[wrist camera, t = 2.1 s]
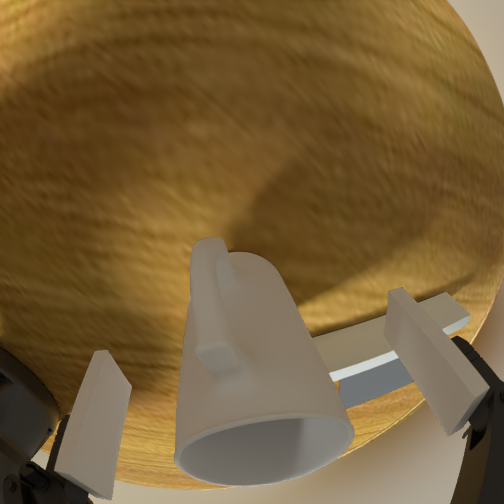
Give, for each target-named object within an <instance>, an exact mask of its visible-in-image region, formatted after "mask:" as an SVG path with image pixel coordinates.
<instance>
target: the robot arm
mask: <svg viewBox="0 0 504 504" xmlns="http://www.w3.org/2000/svg"><path fill="white" fill-rule="evenodd" d="M384 337H385V338H386V340H387V341H388V343H389V344H390V346H391V347H392V349H393V350H394V352H395V353H396V354H397V356H398V357H399V359H400V360H401V362H402V363H403V365H404V366H405V368H406V370H407V371H408V373H409V374H410V376H411V377H412V379H413V380H414V382H415V383H416V385H417V387H418V388H419V390H420V391H421V393H422V394H423V396H424V398H425V399H426V401H427V402H428V404H429V406H430V407H431V409H432V411H433V412H434V414H435V415H436V417H437V419H438V420H439V422H440V424H441V425H442V427H443V429H444V431H445V432H446V434H447V436H450V435H452V434H453V433H455V432H457V431H458V430H460V429H461V428H463V426H464V425H465V424H466V422H467V421H469V422H470V424H471V425H470V426H469V428H468V429H467V430H466V432H465V433H464V434H463V437H462V438H465V437H466V435H467V434H468V437H467V443H466V448H465V452H464V457H463V462H462V465H461V469H460V473H459V477H458V481H457V484H456V488H455V491H454V494H453V497H452V500H451V503H450V504H504V382H502V381H501V380H500V379H499V378H498V377H497V375H496V374H495V373H494V372H493V370H492V369H491V368H490V367H489V366H488V364H487V363H486V362H485V361H484V360H483V358H482V357H480V355H479V354H478V353H477V352H476V351H475V350H474V348H473V347H472V346H471V345H470V344H469V342H468V341H466V340H465V339H463V338H461V337H459V336H455V337H453V338H451V339H450V338H449V337H448V336H447V335H446V333H445V332H444V331H443V330H442V329H441V328H440V327H439V326H438V324H437V323H436V322H435V321H434V320H433V319H432V318H431V317H430V316H429V315H428V314H427V312H426V311H425V310H424V309H423V308H422V307H421V306H420V305H419V304H418V303H417V302H416V301H415V300H414V299H413V298H412V297H411V296H410V295H409V294H408V292H407V291H406V290H405V289H404V288H403V287H401V288H398V289H395V290H391V291H389V293H388V303H387V312H386V321H385V328H384ZM131 390H132V386H131V384H130V383H129V382H128V380H127V379H126V377H125V376H124V374H123V373H122V371H121V370H120V368H119V367H118V365H117V364H116V362H115V361H114V359H113V357H112V356H111V354H110V353H109V351H108V350H99V351H95V352H94V354H93V357H92V359H91V362H90V364H89V367H88V369H87V371H86V374H85V377H84V379H83V382H82V384H81V387H80V390H79V392H78V395H77V398H76V400H75V403H74V406H73V409H72V412H71V415H66V416H65V417H64V418H63V420H62V421H61V422H60V424H59V427H58V430H57V435H56V437H55V440H54V441H55V442H54V443H53V446H52V449H51V453H50V456H49V460H48V463H47V467H46V470H44V469H43V468H41V467H40V466H39V465H37V464H36V463H35V462H33V461H31V459H32V458H33V457H34V455H35V454H36V453H37V452H38V450H39V449H40V448H41V447H42V446H43V445H44V443H45V442H46V441H47V439H48V438H49V437H50V436H51V435H52V434H53V433H54V431H55V429H56V426H57V423H58V420H59V417H60V412H59V408H58V406H57V404H56V402H55V400H54V398H53V397H52V395H51V394H50V393H49V391H48V390H47V389H46V388H45V387H44V385H43V384H42V383H41V382H40V381H39V380H38V379H37V378H36V377H35V376H34V375H33V374H32V373H31V372H30V371H29V370H28V369H27V368H26V367H24V366H23V365H22V364H21V363H20V362H19V361H17V360H16V359H15V358H14V357H12V356H11V355H10V354H8V353H7V352H6V351H4V350H3V349H1V348H0V504H93V502H92V501H91V500H90V498H88V494H89V493H90V494H91V495H93V496H95V497H97V498H101V499H106V500H112V494H113V487H114V480H115V473H116V467H117V460H118V454H119V449H120V443H121V438H122V432H123V427H124V422H125V417H126V413H127V408H128V403H129V399H130V394H131Z"/></svg>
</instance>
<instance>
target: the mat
mask: <svg viewBox="0 0 504 504" xmlns="http://www.w3.org/2000/svg"><path fill="white" fill-rule="evenodd" d="M412 382H414V380H413V379H412V377H411V376H410V374H409V373H408V371H407V370H406V368H405V366H404V365H403V363H402V362H401V360H400V359H399V358H397V359H395V360H392V361H390V362H387V363H385V364H382V365H379V366H377V367H374V368H371V369H369V370H366V371H363V372H360V373H358V374H355V375H352V376H349V377H346V378H343V379H340V382H339V396H340V398H341V400H342V403H343V405H344V408H345V409H347V408H350V407H353V406H356V405H359V404H362V403H364V402H367V401H370V400H372V399H375V398H377V397H380V396H382V395H385V394H387V393H389V392H392V391H394V390H396V389H399V388H401V387H403V386H405V385H408V384H410V383H412Z"/></svg>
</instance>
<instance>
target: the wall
mask: <svg viewBox="0 0 504 504" xmlns="http://www.w3.org/2000/svg"><path fill="white" fill-rule="evenodd" d="M418 304H419V305H420V306H421V307H422V308H423V309H424V310H425V311H426V312H427V314H428V315H429V316H430V317H431V318H432V319H433V320H434V321H435V322H436V323H437V324H438V326H439V327H440V328H441V329H442V330H443V331H444V332H445V333H446V335H449V334H451V333H453V332H455V331H457V330H459V329H460V328H462V327H464V326H466V325H468V322H469V319H470V315H471V314H470V313H469V312H468V311H467V310H466V309H465V308H464V307H462V306H461V305H460V304H459V303H458V302H457V301H456V300H455V299H454V298H453V297H451V296H450V295H449V294H448V293H447V292H444V293H441V294H439V295H436V296H434V297H432V298H429V299H427V300H424V301H422V302H419V303H418ZM385 321H386V315H384V316H381V317H378V318H375V319H372V320H369V321H366V322H363V323H360V324H357V325H354V326H350V327H347V328H344V329H341V330H337V331H334V332H331V333H327V334H324V335H320V336H317V337H313V338H312V339H313V341H314V343H315V345H316V347H317V349H318V352H319V354H320V356H321V358H322V360H323V362H324V364H325V366H326V368H327V370H328V372H329V374H330V376H331V378H332V380H333V381H337V380H340V379H343V378H346V377H349V376H352V375H355V374H358V373H360V372H363V371H366V370H369V369H371V368H374V367H377V366H379V365H382V364H385V363H387V362H390V361H392V360H395V359H397V358H399V357H398V356H397V354H396V353H395V352H394V350H393V349H392V347H391V346H390V344H389V343H388V341H387V340H386V338H385V337H384V328H385Z"/></svg>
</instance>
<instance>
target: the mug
mask: <svg viewBox="0 0 504 504" xmlns="http://www.w3.org/2000/svg"><path fill="white" fill-rule="evenodd" d="M190 292H191V293H190V300H189V305H188V310H187V318H186V326H185V334H184V342H183V351H182V359H181V368H180V377H179V387H178V397H177V409H176V434H175V453H174V461H175V463H176V465H177V467H178V468H179V469H180V470H181V471H182V472H184V473H185V474H187V475H188V476H190V477H192V478H195V479H197V480H200V481H203V482H207V483H211V484H216V485H222V486H234V487H250V486H262V485H270V484H276V483H281V482H285V481H289V480H293V479H296V478H299V477H302V476H305V475H307V474H310V473H312V472H314V471H317V470H318V469H320V468H322V467H324V466H326V465H328V464H329V463H331V462H332V461H334V460H335V459H337V458H338V457H339V456H340V455H342V454H343V453H344V452H345V451H346V450H347V448H348V447H349V446H350V444H351V443H352V441H353V438H354V428H353V426H352V424H351V422H350V420H349V418H348V415H347V413H346V410H345V408H344V405H343V403H342V400H341V398H340V396H339V394H338V391H337V389H336V387H335V385H334V383H333V380H332V378H331V376H330V374H329V372H328V370H327V368H326V366H325V364H324V362H323V360H322V358H321V356H320V354H319V352H318V349H317V347H316V345H315V343H314V341H313V339H312V337H311V335H310V333H309V331H308V329H307V327H306V325H305V323H304V321H303V319H302V317H301V315H300V313H299V311H298V309H297V306H296V304H295V302H294V300H293V298H292V296H291V294H290V292H289V291H288V289H287V287H286V285H285V283H284V281H283V279H282V277H281V275H280V274H279V272H278V270H277V269H276V268H275V267H274V266H273V265H272V264H271V263H270V262H269V261H268V260H266V259H265V258H263V257H261V256H259V255H256V254H252V253H248V252H231V253H228V250H227V247H226V245H225V243H224V241H223V240H222V239H221V238H219V237H212V238H204V239H201V240H199V241H197V242H196V243H195V244H194V246H193V249H192V253H191V259H190Z"/></svg>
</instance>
